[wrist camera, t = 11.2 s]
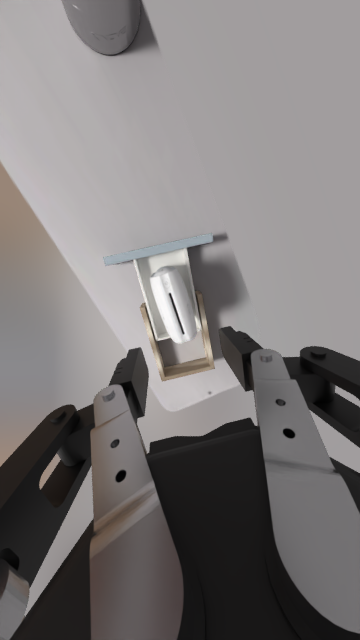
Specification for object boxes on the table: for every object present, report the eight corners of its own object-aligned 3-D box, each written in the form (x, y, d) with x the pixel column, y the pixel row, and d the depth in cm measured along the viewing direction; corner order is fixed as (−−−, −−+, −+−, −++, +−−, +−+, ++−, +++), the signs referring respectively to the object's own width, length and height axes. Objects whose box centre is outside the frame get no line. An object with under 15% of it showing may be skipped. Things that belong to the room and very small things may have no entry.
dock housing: (210, 359, 40) (214, 368, 37) (161, 371, 40) (161, 381, 36) (197, 290, 35) (201, 293, 31) (141, 303, 34) (139, 308, 31)
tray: (218, 320, 37) (225, 327, 33) (136, 339, 36) (133, 349, 33) (205, 236, 31) (212, 232, 28) (109, 257, 31) (102, 257, 27)
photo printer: (150, 270, 32) (143, 276, 20) (173, 262, 31) (180, 264, 20) (169, 322, 35) (172, 354, 23) (190, 315, 35) (204, 343, 23)
